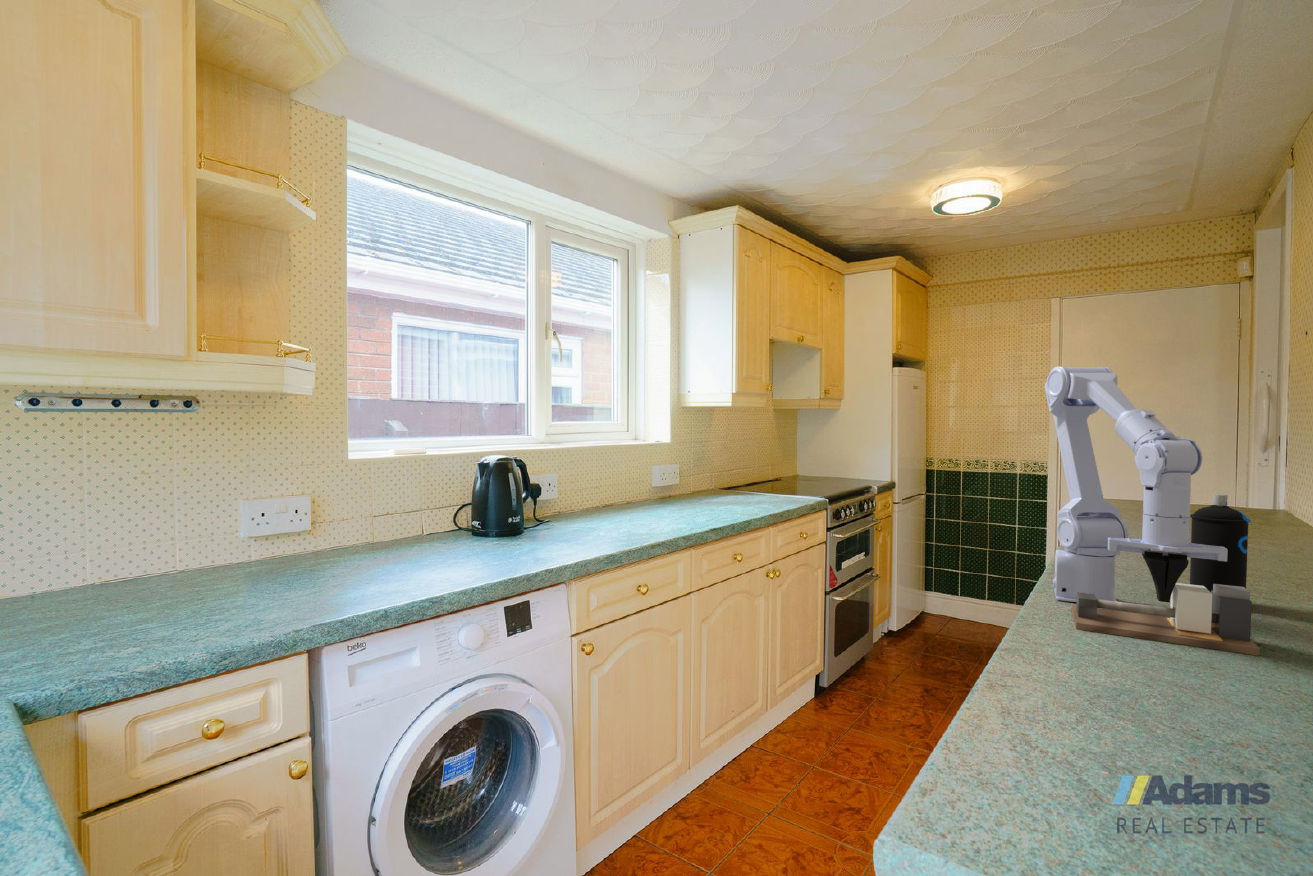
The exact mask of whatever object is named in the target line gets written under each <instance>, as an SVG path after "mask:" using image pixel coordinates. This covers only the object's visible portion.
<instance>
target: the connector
mask: <svg viewBox="0 0 1313 876" xmlns="http://www.w3.org/2000/svg"><path fill="white" fill-rule="evenodd" d="M1211 593H1212V613H1214V614H1216V623H1211V628H1212V629H1213V630H1214V631H1215V633H1216V634H1217V635H1218V636H1219V637H1220V638H1227V639H1234V640H1241V641H1248V642H1250V640H1251V635H1252V634H1251V633H1252V632H1251V631H1252V609H1253V608H1252V607H1253V606H1252V605H1253V604H1252V603H1253V601H1252V600H1251V599H1250V598H1251V595H1250V594H1251V591H1249V590H1248V589H1247V587H1246V588H1244V587H1239V586H1229V585H1220V584H1213V590H1211Z"/></svg>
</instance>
